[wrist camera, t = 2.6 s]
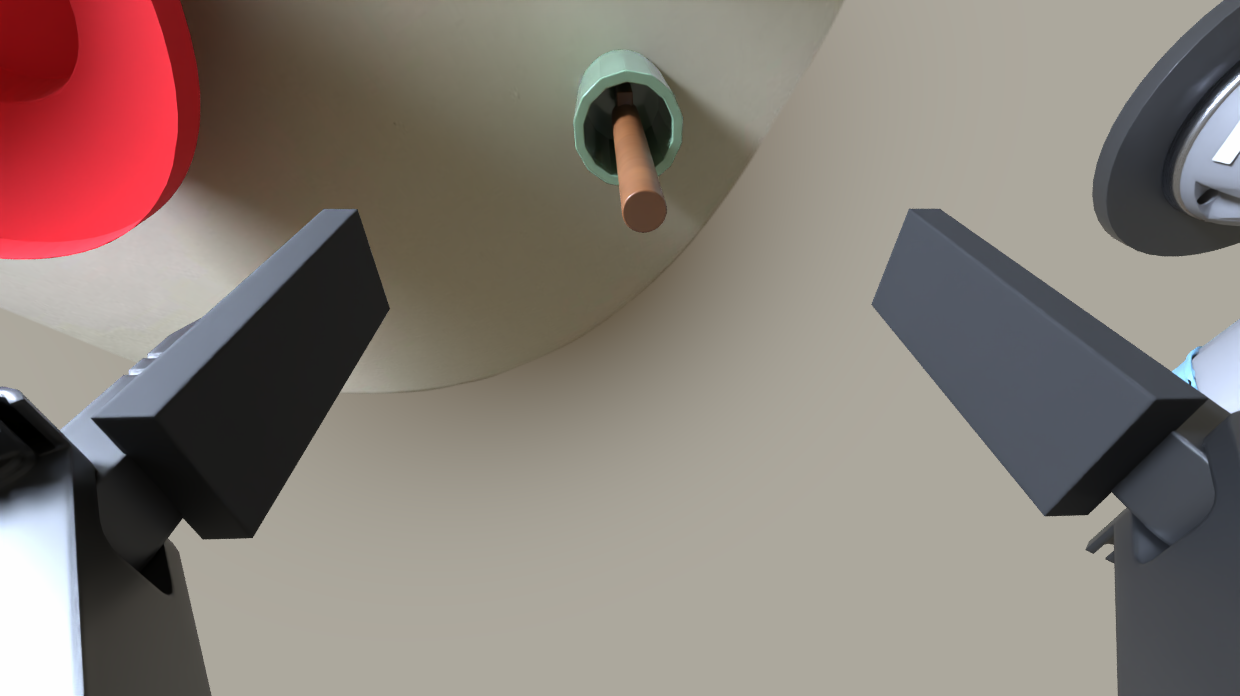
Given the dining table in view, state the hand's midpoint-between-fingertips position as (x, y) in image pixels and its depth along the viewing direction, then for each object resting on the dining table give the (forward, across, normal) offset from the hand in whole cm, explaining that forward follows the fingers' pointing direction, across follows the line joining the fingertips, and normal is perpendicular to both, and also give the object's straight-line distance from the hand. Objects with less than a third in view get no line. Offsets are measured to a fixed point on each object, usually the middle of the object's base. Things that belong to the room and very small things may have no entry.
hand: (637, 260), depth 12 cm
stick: (+28, +1, -2) cm, 28 cm away
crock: (+28, +1, -2) cm, 29 cm away
